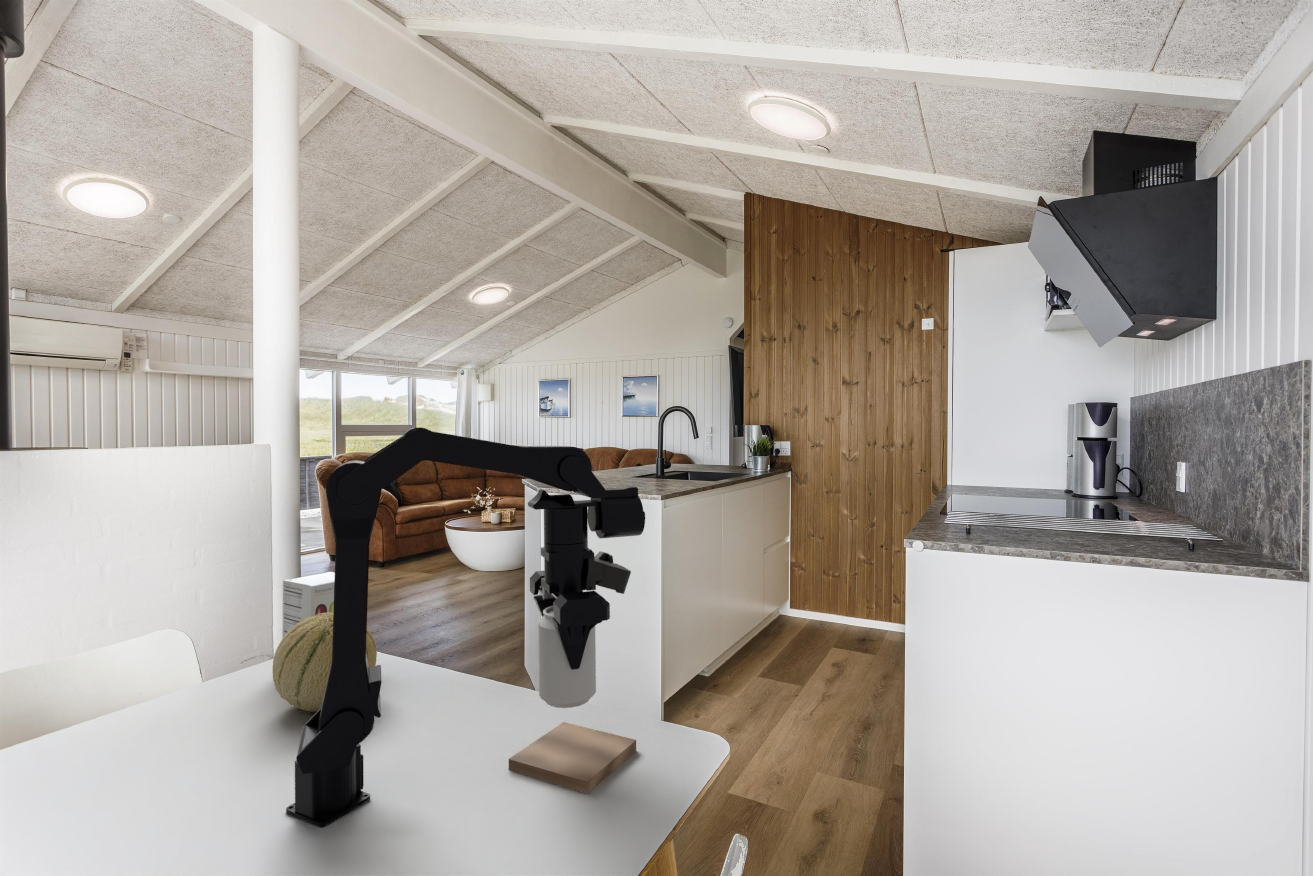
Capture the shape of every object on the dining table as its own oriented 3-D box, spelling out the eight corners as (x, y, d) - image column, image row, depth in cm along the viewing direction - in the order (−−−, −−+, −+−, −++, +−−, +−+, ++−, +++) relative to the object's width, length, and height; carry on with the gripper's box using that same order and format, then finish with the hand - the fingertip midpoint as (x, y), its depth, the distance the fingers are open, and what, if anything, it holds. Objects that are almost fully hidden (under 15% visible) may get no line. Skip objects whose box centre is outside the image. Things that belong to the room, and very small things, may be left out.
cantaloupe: (277, 697, 107) (276, 605, 107) (375, 683, 113) (375, 596, 113) (266, 736, 94) (266, 631, 93) (378, 717, 100) (378, 618, 100)
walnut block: (587, 798, 79) (587, 781, 79) (508, 774, 84) (508, 759, 84) (636, 754, 89) (636, 739, 89) (563, 735, 95) (563, 722, 95)
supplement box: (310, 684, 113) (309, 586, 112) (280, 674, 117) (279, 580, 117) (361, 667, 121) (360, 575, 121) (330, 658, 126) (330, 570, 125)
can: (592, 710, 83) (591, 616, 83) (533, 710, 83) (532, 616, 83) (599, 687, 91) (598, 600, 91) (545, 687, 91) (544, 601, 91)
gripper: (649, 548, 81) (650, 674, 81) (602, 527, 98) (603, 631, 99) (560, 555, 77) (561, 688, 77) (528, 532, 94) (529, 641, 94)
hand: (567, 659), depth 87 cm, fingers closed on can, 7 cm apart
